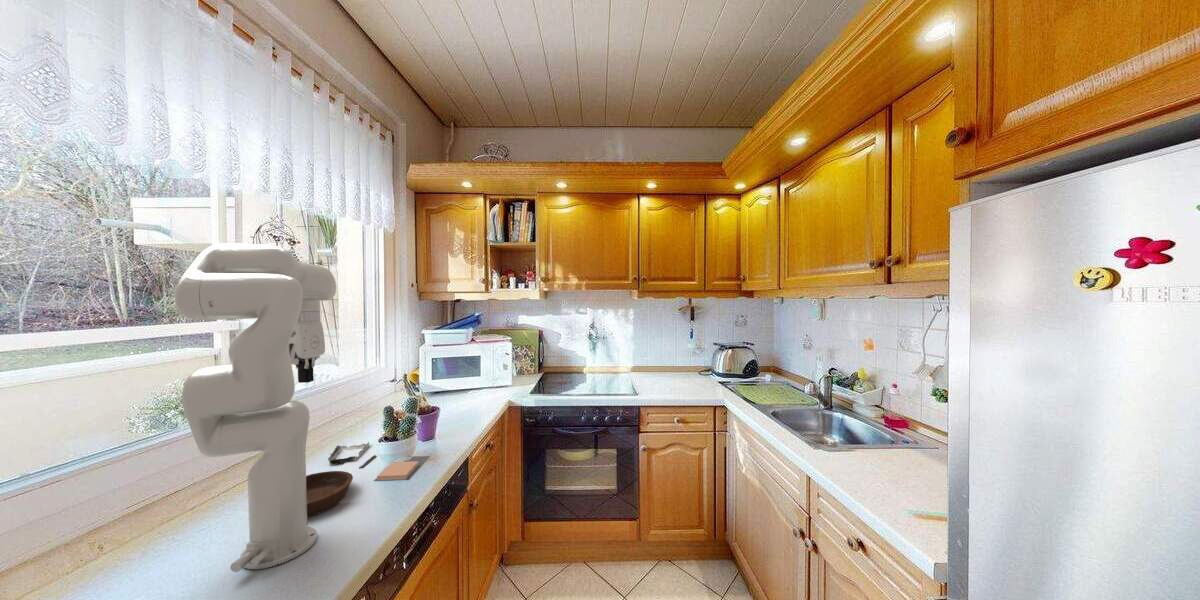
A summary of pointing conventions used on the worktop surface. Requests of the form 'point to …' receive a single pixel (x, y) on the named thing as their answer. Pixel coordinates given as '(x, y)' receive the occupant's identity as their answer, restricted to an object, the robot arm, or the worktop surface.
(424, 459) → the mat
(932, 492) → the worktop surface
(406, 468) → the tile
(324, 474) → the dish
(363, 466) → the dark grey thin rod
